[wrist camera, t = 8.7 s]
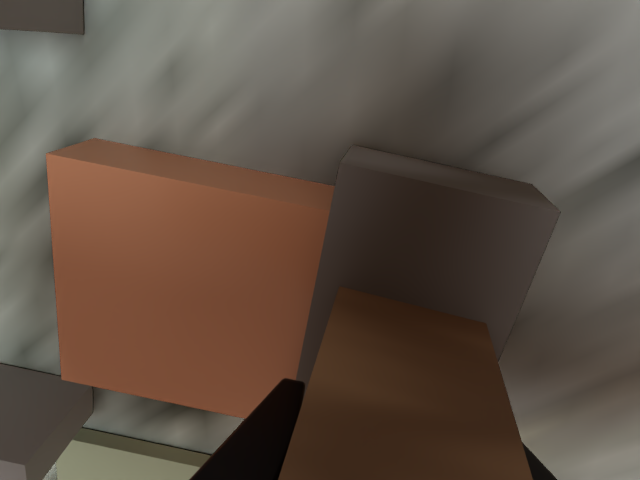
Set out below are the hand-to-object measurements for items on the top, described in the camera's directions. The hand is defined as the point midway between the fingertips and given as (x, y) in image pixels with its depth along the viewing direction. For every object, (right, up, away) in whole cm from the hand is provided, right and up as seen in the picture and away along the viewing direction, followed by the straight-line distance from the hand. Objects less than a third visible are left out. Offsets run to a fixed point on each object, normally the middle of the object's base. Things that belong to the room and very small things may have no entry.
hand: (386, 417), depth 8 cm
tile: (-4, +2, +4) cm, 6 cm away
